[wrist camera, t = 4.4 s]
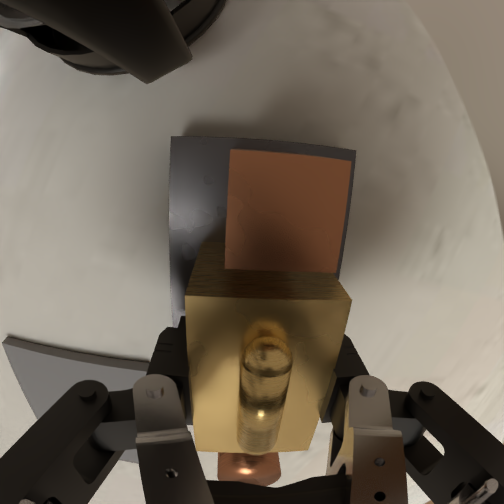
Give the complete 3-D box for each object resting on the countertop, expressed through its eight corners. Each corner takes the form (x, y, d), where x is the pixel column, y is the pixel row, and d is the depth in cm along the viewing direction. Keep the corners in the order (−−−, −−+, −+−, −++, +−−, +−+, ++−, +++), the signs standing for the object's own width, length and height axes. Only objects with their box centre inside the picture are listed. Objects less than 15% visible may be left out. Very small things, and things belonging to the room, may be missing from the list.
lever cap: (201, 241, 12) (178, 318, 7) (313, 246, 12) (366, 321, 7) (203, 378, 14) (194, 472, 9) (291, 379, 14) (312, 471, 9)
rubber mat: (7, 336, 15) (1, 342, 15) (149, 362, 16) (146, 371, 15) (53, 435, 19) (50, 441, 18) (169, 460, 20) (168, 467, 19)
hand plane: (180, 137, 12) (116, 130, 5) (339, 149, 13) (441, 160, 6) (186, 400, 17) (173, 504, 10) (298, 402, 18) (320, 502, 11)
